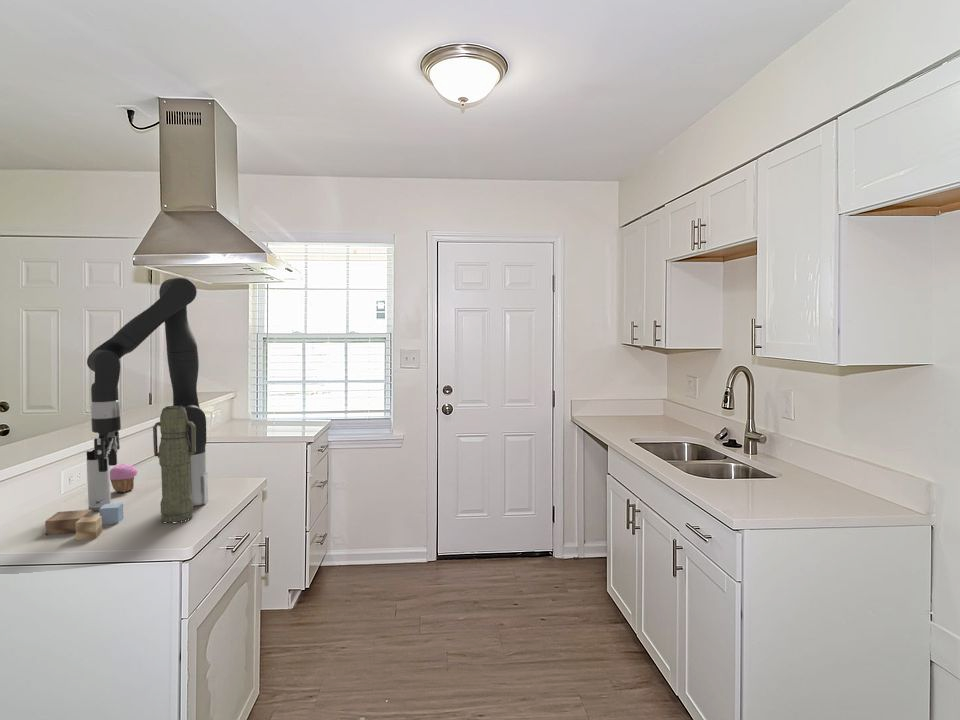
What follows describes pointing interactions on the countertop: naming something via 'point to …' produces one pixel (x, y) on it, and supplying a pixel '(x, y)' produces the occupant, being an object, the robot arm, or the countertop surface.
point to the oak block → (88, 527)
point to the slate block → (111, 513)
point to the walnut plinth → (65, 521)
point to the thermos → (175, 463)
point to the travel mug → (97, 483)
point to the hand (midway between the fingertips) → (108, 468)
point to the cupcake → (123, 477)
